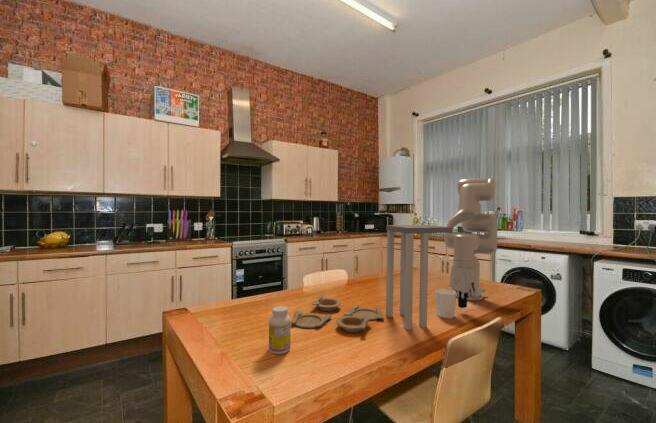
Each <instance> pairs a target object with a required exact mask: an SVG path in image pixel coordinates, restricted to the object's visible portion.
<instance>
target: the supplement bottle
mask: <svg viewBox="0 0 656 423" xmlns="http://www.w3.org/2000/svg"><path fill="white" fill-rule="evenodd" d="M271 313H272V316H270V318H269V320H268V351H269V353H272V354H275V355H283V354H286V353H288V352H289V351H290V350H291V346H292V345H291V340H292V339H291V337H292V335H291V333H292V332H291V330H292V328H291V325H292V324H291V321H292V318H291V316H290V315H288V307H287V306H283V305H280V306H279V305H278V306H274V307H273V308H272V309H271Z"/></svg>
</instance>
